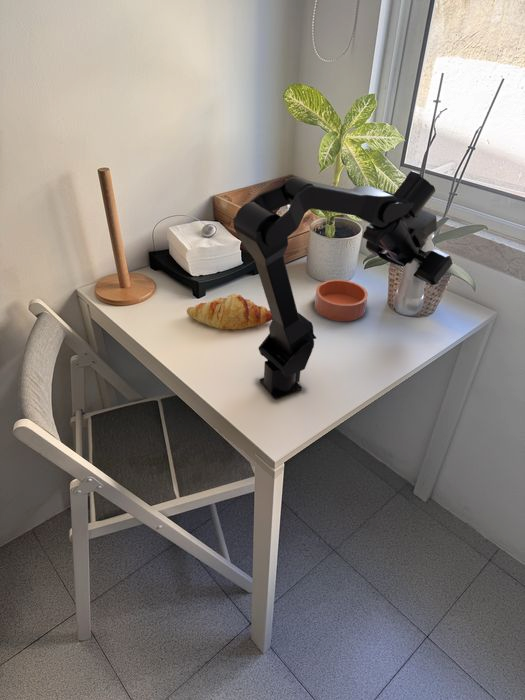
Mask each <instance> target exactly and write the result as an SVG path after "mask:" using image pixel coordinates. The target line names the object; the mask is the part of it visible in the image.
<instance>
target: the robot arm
mask: <svg viewBox="0 0 525 700" xmlns="http://www.w3.org/2000/svg"><path fill="white" fill-rule="evenodd" d="M435 193H436V187H435V186H434V184H431V183H430V182H429V181H428V180H427V179H426V178H424V177H422V176H421V173H419V172H416V171H413V170H410V171H409V173H408V174H407V175H406V176H405V179H404V180H403V182H402V183H401V184H400V185H399V187H398V188H397V189H396V191H394V193H392V192H389V191H387V190H384V189H378V188H376V187H374V186H371V185H357V186H355V187H353V188H346V187H340V186H336V185H330V184H326V183H321V182H316V181H311V180H306V179H303V178H301V177H299V176H293V177H289V178H287V179H286V180H285V181H284V182H283V183H281V184H280V185H278V186H276V187H273V188H271V189H269V190H266V191H263V192H261V193H258V195H256V196H255V197H254V198H252V199H251V200H250V201H249V202H247V203H244V204H243V205H242V206H241V207H240V208H239V209H238V210H237V212H236V214H235V216H234V217H233V222H232V224H233V230H234V231H235V233H236V235H237V237H238V238H239V240H240V242H241V244H242V245H243V247H244V248H245V249H246V251H248V253H249V254H250V256H251V257H252V258H253V260H254V263H255V265H256V270H257V273H258V275H259V280H260V282H261V285H262V288H263V292H264V296H265V298H266V302H267V305H268V309H269V311H270V312H271V315H272V320H271V321H270V324H269V325H268V329H269V330H268V331H269V333H268V335H267V336H266V337H265V339H264V340H263V341H262V342H261V344H260V345H259V346H258V347H257V348H258V351H259V354H260V355H261V356H262V357H264V359H266V360H265V361H264V369H263V371H264V372H263V377H262V378H259V384H261V386H262V387H263V388H264V389H265V390H266V392H267V393H268V394H269V395H270V396H271V398H272V399H274V400H280V399H282V398H286V397H287V396H290V395H293V394H296V393H298V392H301V391H302V390H303V387H302V386H301V384H300V381H301V380H300V379H301V372H302V371H304V370H305V369H306V367H307V364H308V362H309V360H310V357H311V355H312V352H313V349H314V348H315V340H316V339H317V337H316V335H315V333H314V326H313V323H312V321H310V320H309V319H308V318H306V317H305V316H304V315H302V314H301V313H299V312H298V309H297V305H296V301H295V296H294V292H293V288H292V284H291V281H290V277H289V273H288V269H287V265H286V261H285V256H284V255H285V253H286V251H287V248H288V246H289V237H290V236H291V235H292V234H294V233H295V232H296V231H297V230H298V229H299V227H300V225H301V223H302V220H303V219H304V217H305V214H306V213H307V212H309V211H310V210H317V211H323V212H331V213H337V214H343V215H349V216H355V217H357V218H358V219H361V220H363V221H365V222H367V223H369V224H368V225H366V227H365V230H364V231H363V234H362V238H363V239H365V240H366V243H365V248H366V249H367V251H368V252H369V253H371V254H373V255H375V256H377V257H379V258H380V259H383V260H384V261H386V262H387V263H391V264H394V265H396V266H399V267H402V268H403V266H405V265H406V264H407V263H408V264H411V263H412V262H413V260H415V261H417V262H418V265H419V267H418V269H417V271H416V272H415V273H414V275H413V276H415V277H417V278H419V279H421V280H423V281H425V283H426V284H429V285H431V286H436V285H437V284H438V283H439V282H440V280H441V279H442V278H443V277H444V275H445V274H446V273H447V272H448V271H449V269H450V268H451V267H452V265H453V264H454V262H453V259H452V257H451V255H449V254H447V253H445V252H443V251H441V250H439V249H437V248H435V250H432V251H427V252H424V251H422V250H420V249H419V248H420V247H421V248H422V247H423V246H424V245H425V241H424V240H423V239H425V238H427V237H428V236H429V235H430V234H432V233H433V232H434V233H435V232H436V231H437V230H438V218H437V215H436V214H435V213H432V212H431V211H428V210H425V209H423V208H424V207H425V206H426V205H427V203H428V202H429V201H430V199H431V198H433V196H434V194H435ZM289 204H290V205H289ZM288 205H289V207H288V209H287V211H286V212H285V213H284V214H282V215H280V214H277V213H276V212H275V211H276V210H278V209H281V208H283V207H285V206H288ZM425 257H426V258H425Z"/></svg>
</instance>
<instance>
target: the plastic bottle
mask: <svg viewBox="0 0 525 700" xmlns="http://www.w3.org/2000/svg"><path fill="white" fill-rule="evenodd" d="M434 237H435V232H433V233H432V234H430V235H429V236H428V237H427V238H425V239H423V240H424V241H425V245H424V246H423V247H422V248H421V247H420V248H419V249H420V250H422V251H424V252H427V251H432V250H435V249H436V247H435V245H434V242H433V239H434ZM425 258H426V257H425ZM418 267H419V265H418V262H417V261H415V260H413V262H412V263H411V264H408V263H407V264H406V265H405V266H403V267H402V273H401V278H400V281H399V284H398V287H397V289H396V292H395V294H394V297H393V307H394V310H395V311H396V312H397V313H398V314H402V315H404V316H415V315H417V314H418V313H420V312H421V310H422V307H423V306H424V299H425V297H424V296H425V295H424V294H425V288H426V282H425V281H423V280H421V279H419V278H417V277H415V276H413V275H414V273H415V272H416V271H417V269H418Z"/></svg>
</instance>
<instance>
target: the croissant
mask: <svg viewBox="0 0 525 700" xmlns="http://www.w3.org/2000/svg"><path fill="white" fill-rule="evenodd" d="M186 314H187V316H189V317H190V318H192V319H194V320H196V321H197V322H199V323H200V324H204V325H206V326H208V327H212V328H216V329H219V330H242V329H246V328H250V327H251V328H252V327H257V326H261V325H265V324H267V323H269V322H272V315H271V312H270V309H269V310H268V309H267V308H266V307H265V306H263V305H257V304H256V303H254V302H253V301H251V299H246V298H244V296H242V295H241V294H238V293H232V294H230V295H227V297H219V298H215V299H212V300H210V301H207V302H201V303H198V304H196V305H194V306H189V307H188V308H187V309H186Z"/></svg>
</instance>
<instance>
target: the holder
mask: <svg viewBox="0 0 525 700" xmlns="http://www.w3.org/2000/svg"><path fill="white" fill-rule="evenodd" d="M368 297H369V294H368V291H367V290H366V288H365V287H363V286H362V285H361V284H359V283H356V282H354V281H351V280H345V279H329V280H326V281H325V280H324V281H323V282H321V283H319V284H318V285H317V286H316V289H315V296H314V309H315V311H316V312H317V313H318V314H319V315H320V316H322V317H323V318H326V319H328V320H331V321H334V322H335V321H337V322H352V321H355V320H358V319H360V318H362V317H363V316H364V314H365V312H366V307H367V302H368Z"/></svg>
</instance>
